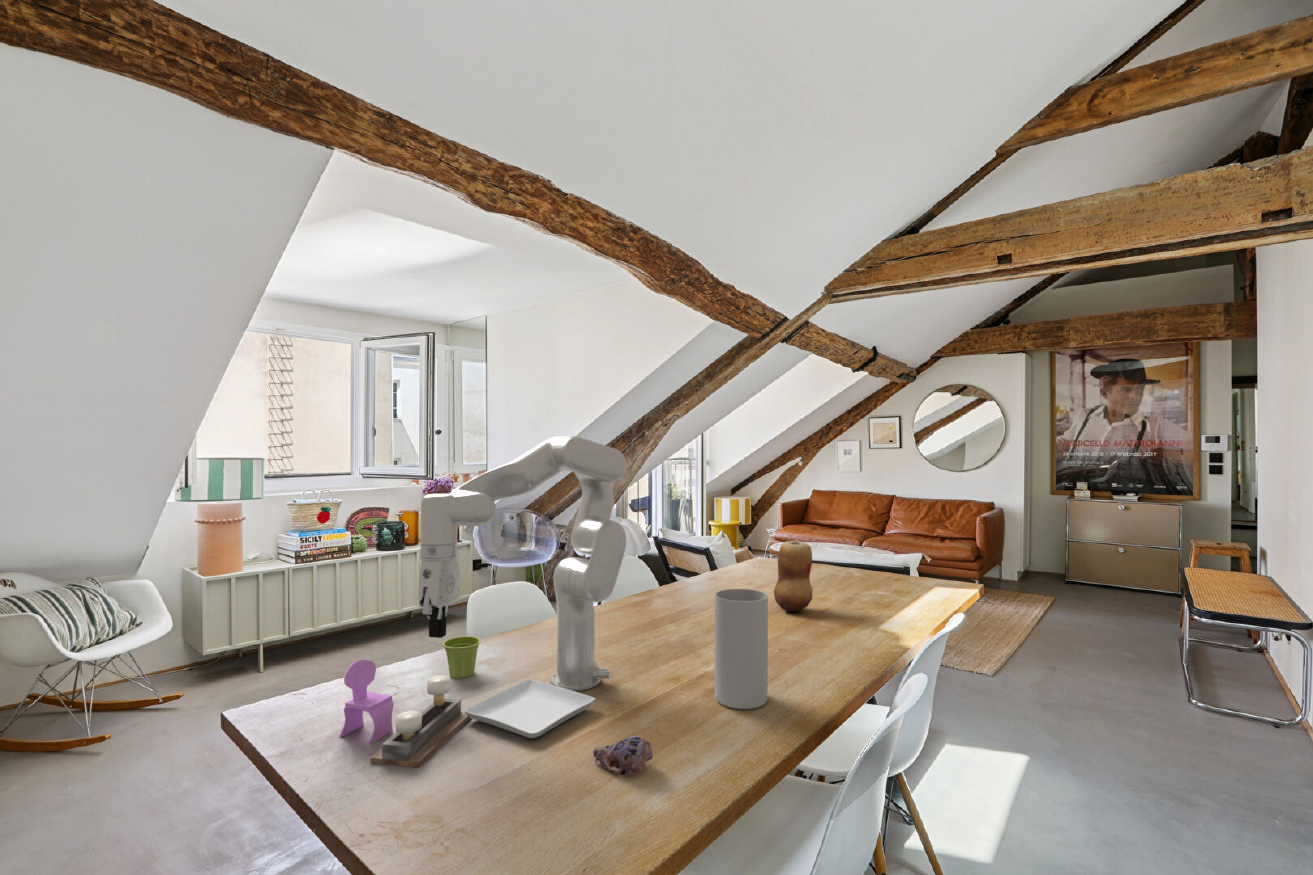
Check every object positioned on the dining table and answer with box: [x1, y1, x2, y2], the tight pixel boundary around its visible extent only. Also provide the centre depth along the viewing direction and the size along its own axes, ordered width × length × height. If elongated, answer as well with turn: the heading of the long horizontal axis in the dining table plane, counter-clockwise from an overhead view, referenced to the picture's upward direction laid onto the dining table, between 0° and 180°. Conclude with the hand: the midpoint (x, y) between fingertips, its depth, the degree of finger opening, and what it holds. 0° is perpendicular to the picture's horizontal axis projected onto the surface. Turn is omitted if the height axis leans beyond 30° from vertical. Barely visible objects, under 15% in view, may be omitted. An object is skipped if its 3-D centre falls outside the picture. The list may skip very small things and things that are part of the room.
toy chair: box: [339, 659, 394, 744], centre depth 135 cm, size 8×9×15 cm
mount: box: [370, 698, 472, 768], centre depth 133 cm, size 10×22×4 cm, turn 171°
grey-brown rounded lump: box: [592, 735, 654, 777], centre depth 122 cm, size 12×8×6 cm, turn 57°
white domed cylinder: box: [395, 710, 422, 742], centre depth 127 cm, size 5×5×5 cm
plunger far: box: [426, 675, 452, 706], centre depth 139 cm, size 5×5×5 cm
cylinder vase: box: [714, 588, 769, 710], centre depth 153 cm, size 12×12×25 cm
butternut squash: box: [773, 540, 813, 613], centre depth 232 cm, size 14×13×25 cm
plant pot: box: [442, 635, 481, 679], centre depth 169 cm, size 9×9×9 cm
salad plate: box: [463, 678, 596, 739], centre depth 144 cm, size 21×21×3 cm
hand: (437, 636), depth 139 cm, fingers closed
